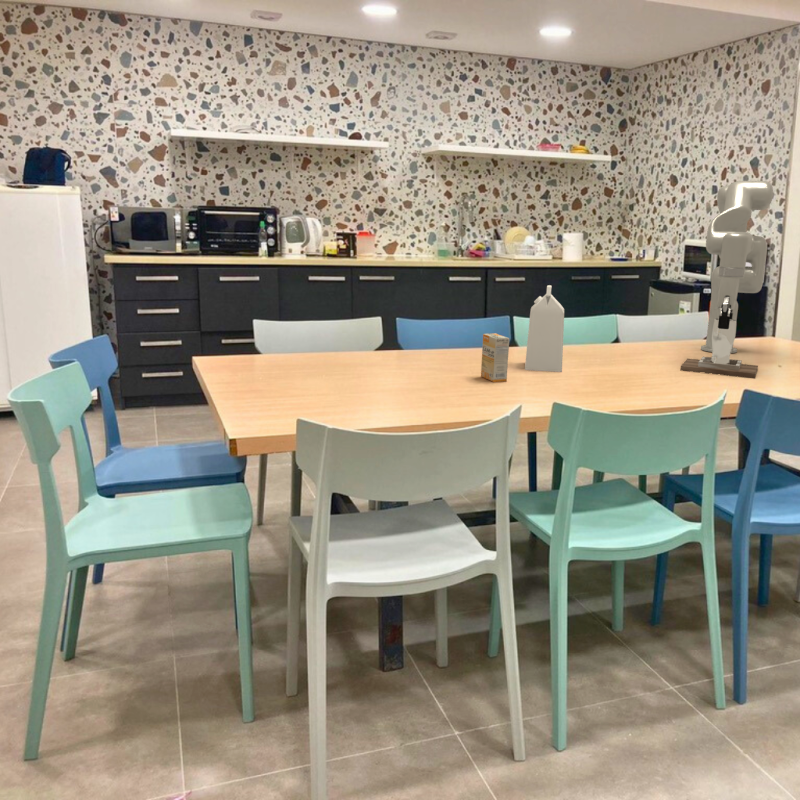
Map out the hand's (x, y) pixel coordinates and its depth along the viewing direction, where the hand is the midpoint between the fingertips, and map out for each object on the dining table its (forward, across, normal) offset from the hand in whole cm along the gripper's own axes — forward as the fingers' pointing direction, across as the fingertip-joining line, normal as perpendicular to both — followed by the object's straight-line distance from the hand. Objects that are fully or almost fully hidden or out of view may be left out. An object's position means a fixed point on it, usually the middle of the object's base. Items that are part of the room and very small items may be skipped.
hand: (724, 326), depth 244 cm
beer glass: (+13, 0, 0) cm, 13 cm away
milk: (+14, +30, -50) cm, 60 cm away
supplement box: (+13, +57, -57) cm, 81 cm away
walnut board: (+14, +1, 0) cm, 14 cm away
